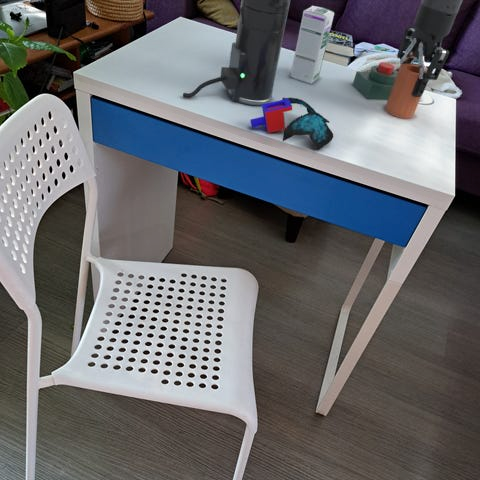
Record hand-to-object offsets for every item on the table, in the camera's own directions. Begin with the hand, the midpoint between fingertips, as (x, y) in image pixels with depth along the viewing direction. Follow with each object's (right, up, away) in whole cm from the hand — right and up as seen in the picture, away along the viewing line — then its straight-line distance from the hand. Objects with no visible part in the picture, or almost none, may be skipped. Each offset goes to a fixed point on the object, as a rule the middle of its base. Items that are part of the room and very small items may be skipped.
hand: (407, 89), depth 112 cm
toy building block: (-27, -12, -15) cm, 33 cm away
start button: (-3, +7, +7) cm, 11 cm away
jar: (-1, -4, +4) cm, 5 cm away
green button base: (-4, +4, +10) cm, 12 cm away
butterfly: (-20, -15, -12) cm, 28 cm away
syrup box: (-22, +7, +10) cm, 25 cm away
